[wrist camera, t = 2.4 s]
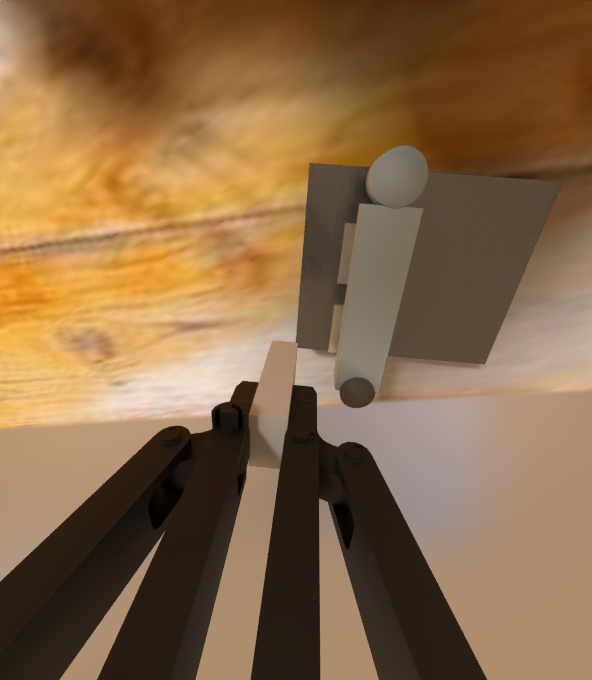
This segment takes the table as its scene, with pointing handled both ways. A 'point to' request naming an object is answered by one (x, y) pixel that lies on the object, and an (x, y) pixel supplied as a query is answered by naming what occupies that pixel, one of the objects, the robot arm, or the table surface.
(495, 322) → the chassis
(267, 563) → the robot arm
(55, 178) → the table surface
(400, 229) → the swing arm
